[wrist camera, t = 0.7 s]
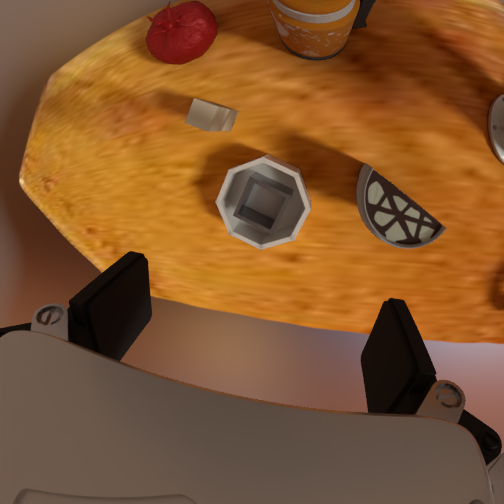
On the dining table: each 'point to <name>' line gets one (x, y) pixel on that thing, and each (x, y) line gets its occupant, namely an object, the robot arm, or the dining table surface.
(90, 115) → the dining table surface
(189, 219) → the dining table surface
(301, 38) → the canister
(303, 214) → the white octagonal tray
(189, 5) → the pomegranate
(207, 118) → the grey rectangular block
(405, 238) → the food container
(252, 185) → the hollow square tube
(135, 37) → the dining table surface
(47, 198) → the dining table surface
